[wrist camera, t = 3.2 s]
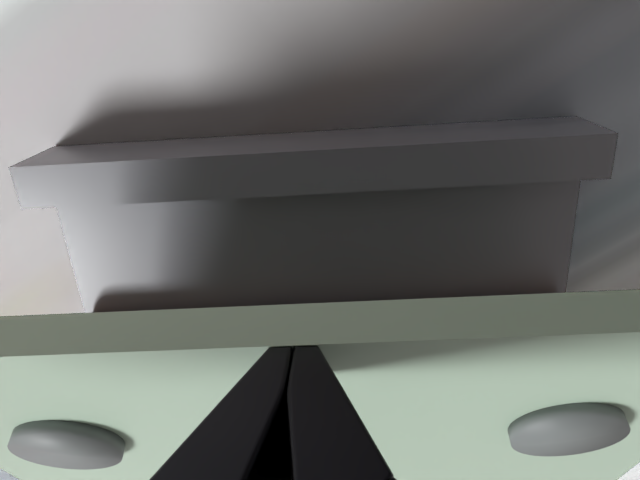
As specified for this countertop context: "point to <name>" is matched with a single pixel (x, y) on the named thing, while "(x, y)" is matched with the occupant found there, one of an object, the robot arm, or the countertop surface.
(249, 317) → the cover
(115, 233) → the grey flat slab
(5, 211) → the countertop surface
